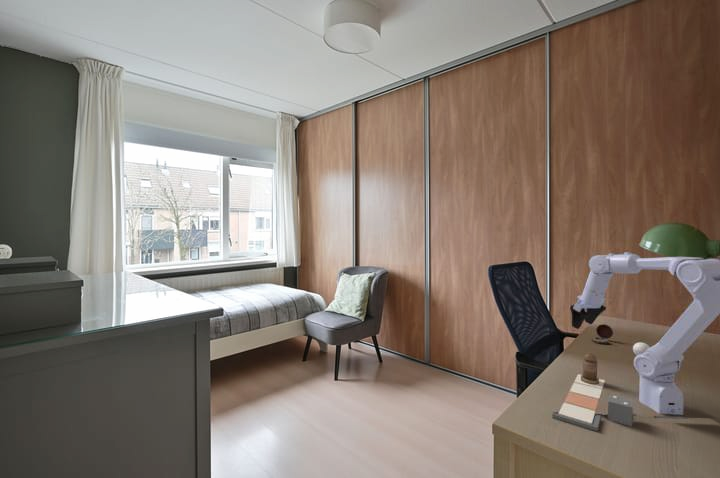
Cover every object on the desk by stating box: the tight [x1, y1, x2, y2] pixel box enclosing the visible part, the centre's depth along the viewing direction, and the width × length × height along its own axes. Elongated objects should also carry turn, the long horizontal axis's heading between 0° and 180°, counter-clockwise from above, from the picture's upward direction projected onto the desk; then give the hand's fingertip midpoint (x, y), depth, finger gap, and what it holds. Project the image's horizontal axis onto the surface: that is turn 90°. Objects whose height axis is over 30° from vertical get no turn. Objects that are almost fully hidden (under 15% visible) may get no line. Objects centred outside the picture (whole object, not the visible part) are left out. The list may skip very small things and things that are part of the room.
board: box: [551, 374, 606, 432], centre depth 103 cm, size 33×10×1 cm, turn 140°
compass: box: [591, 323, 615, 345], centre depth 152 cm, size 8×8×7 cm
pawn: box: [580, 352, 600, 385], centre depth 112 cm, size 5×5×9 cm
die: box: [607, 394, 634, 428], centre depth 92 cm, size 5×5×5 cm
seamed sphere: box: [628, 342, 651, 356], centre depth 136 cm, size 8×6×6 cm
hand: (581, 325), depth 119 cm, fingers open, 7 cm apart
